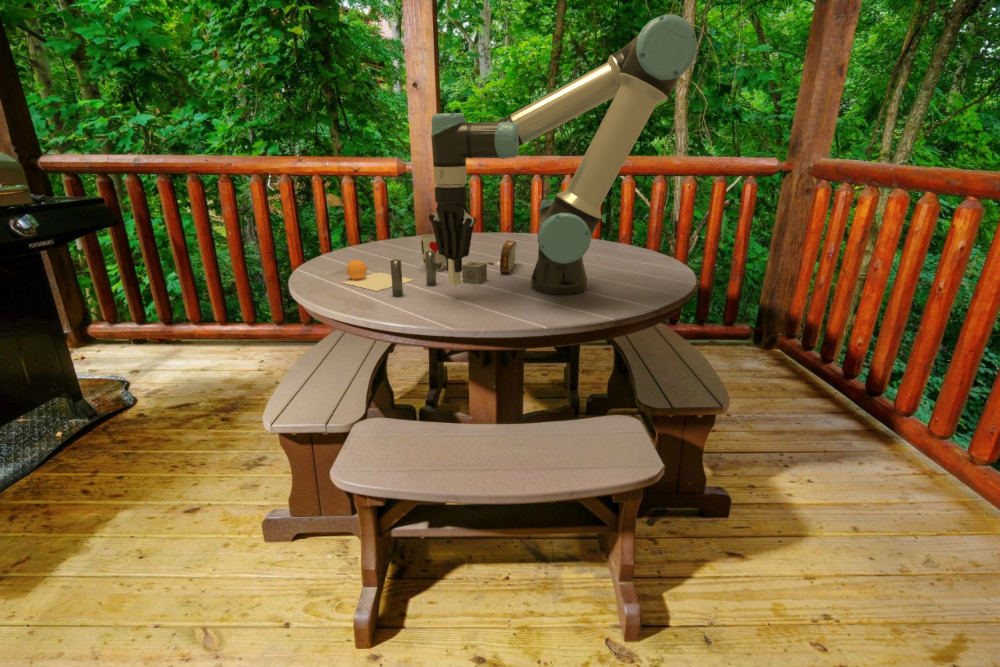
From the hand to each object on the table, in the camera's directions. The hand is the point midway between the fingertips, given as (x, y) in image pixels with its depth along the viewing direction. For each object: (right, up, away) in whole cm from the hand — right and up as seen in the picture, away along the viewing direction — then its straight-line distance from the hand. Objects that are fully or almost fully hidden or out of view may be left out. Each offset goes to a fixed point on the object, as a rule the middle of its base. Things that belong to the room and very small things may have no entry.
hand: (454, 284), depth 130 cm
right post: (-7, +1, +13) cm, 15 cm away
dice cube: (+4, +2, +17) cm, 18 cm away
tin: (+14, +7, +30) cm, 34 cm away
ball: (-29, +6, +17) cm, 34 cm away
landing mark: (-23, +2, +16) cm, 28 cm away
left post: (-15, -3, +4) cm, 15 cm away
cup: (-9, +7, +30) cm, 32 cm away
